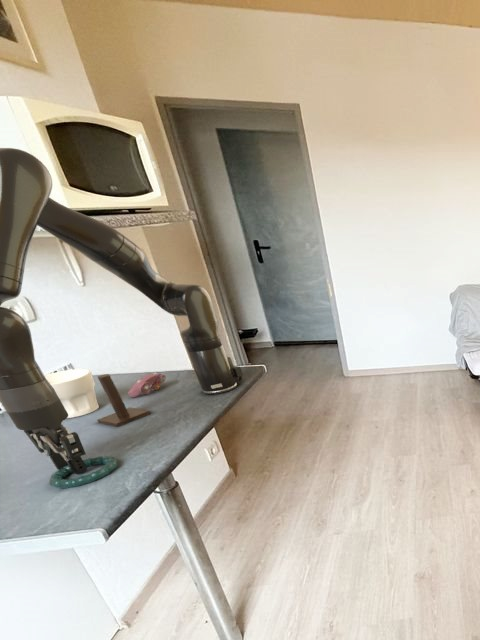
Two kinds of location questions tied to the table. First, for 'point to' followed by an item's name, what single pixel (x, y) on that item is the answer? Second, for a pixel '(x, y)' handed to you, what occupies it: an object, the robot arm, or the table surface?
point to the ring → (59, 482)
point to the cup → (75, 391)
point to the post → (118, 405)
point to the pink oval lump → (147, 384)
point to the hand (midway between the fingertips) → (72, 469)
